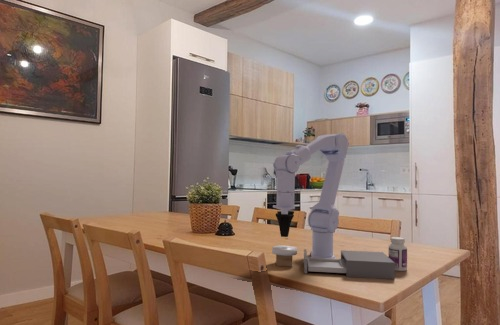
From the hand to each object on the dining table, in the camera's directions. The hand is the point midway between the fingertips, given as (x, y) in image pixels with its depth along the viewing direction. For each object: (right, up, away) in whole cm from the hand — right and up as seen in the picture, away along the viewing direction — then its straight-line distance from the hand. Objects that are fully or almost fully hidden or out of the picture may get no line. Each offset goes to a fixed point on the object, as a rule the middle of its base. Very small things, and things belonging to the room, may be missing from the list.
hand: (284, 234), depth 117 cm
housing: (+24, -10, -7) cm, 27 cm away
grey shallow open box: (+13, -9, -6) cm, 17 cm away
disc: (0, -6, 0) cm, 6 cm away
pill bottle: (+35, -10, -4) cm, 36 cm away
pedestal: (0, -9, 0) cm, 9 cm away
